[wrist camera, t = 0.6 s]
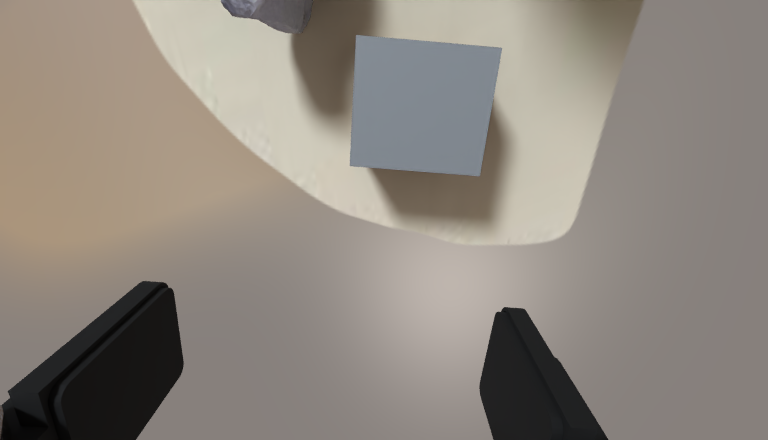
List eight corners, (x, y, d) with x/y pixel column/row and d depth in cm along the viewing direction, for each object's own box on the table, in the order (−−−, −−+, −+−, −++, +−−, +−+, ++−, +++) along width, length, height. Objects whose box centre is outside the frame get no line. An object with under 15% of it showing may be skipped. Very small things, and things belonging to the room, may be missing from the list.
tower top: (360, 41, 29) (356, 34, 25) (485, 52, 29) (502, 47, 25) (354, 155, 32) (349, 166, 28) (467, 164, 33) (479, 176, 28)
